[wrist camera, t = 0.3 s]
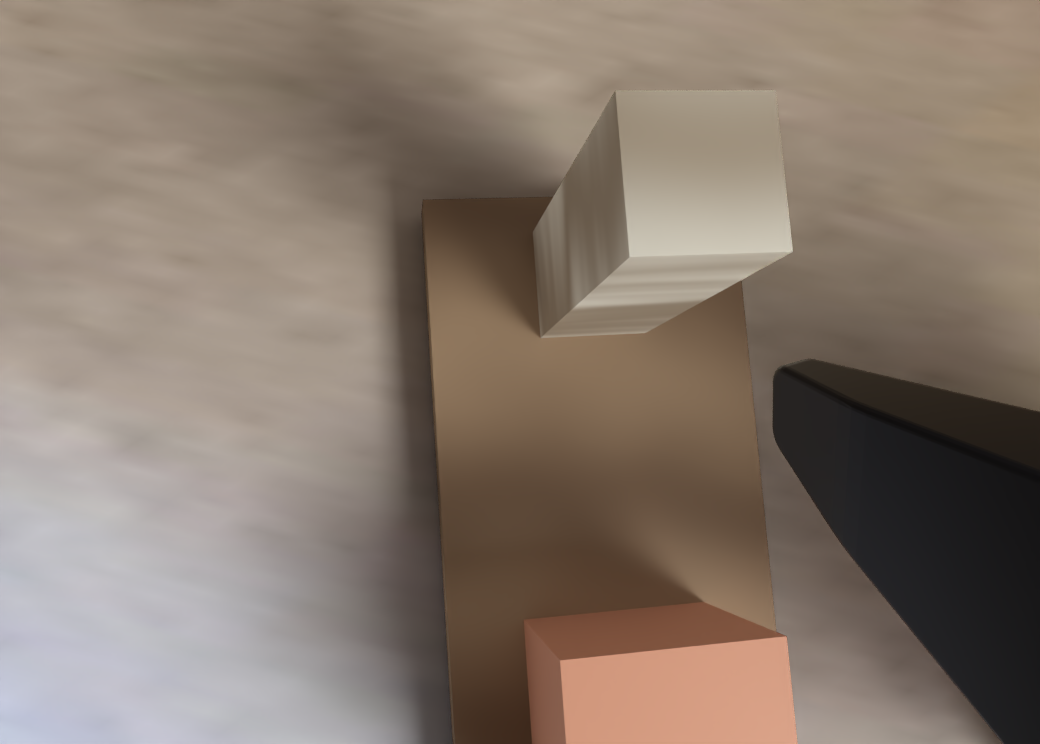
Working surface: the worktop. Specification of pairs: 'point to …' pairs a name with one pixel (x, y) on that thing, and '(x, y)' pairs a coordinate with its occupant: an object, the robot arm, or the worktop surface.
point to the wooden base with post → (601, 387)
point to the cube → (658, 678)
